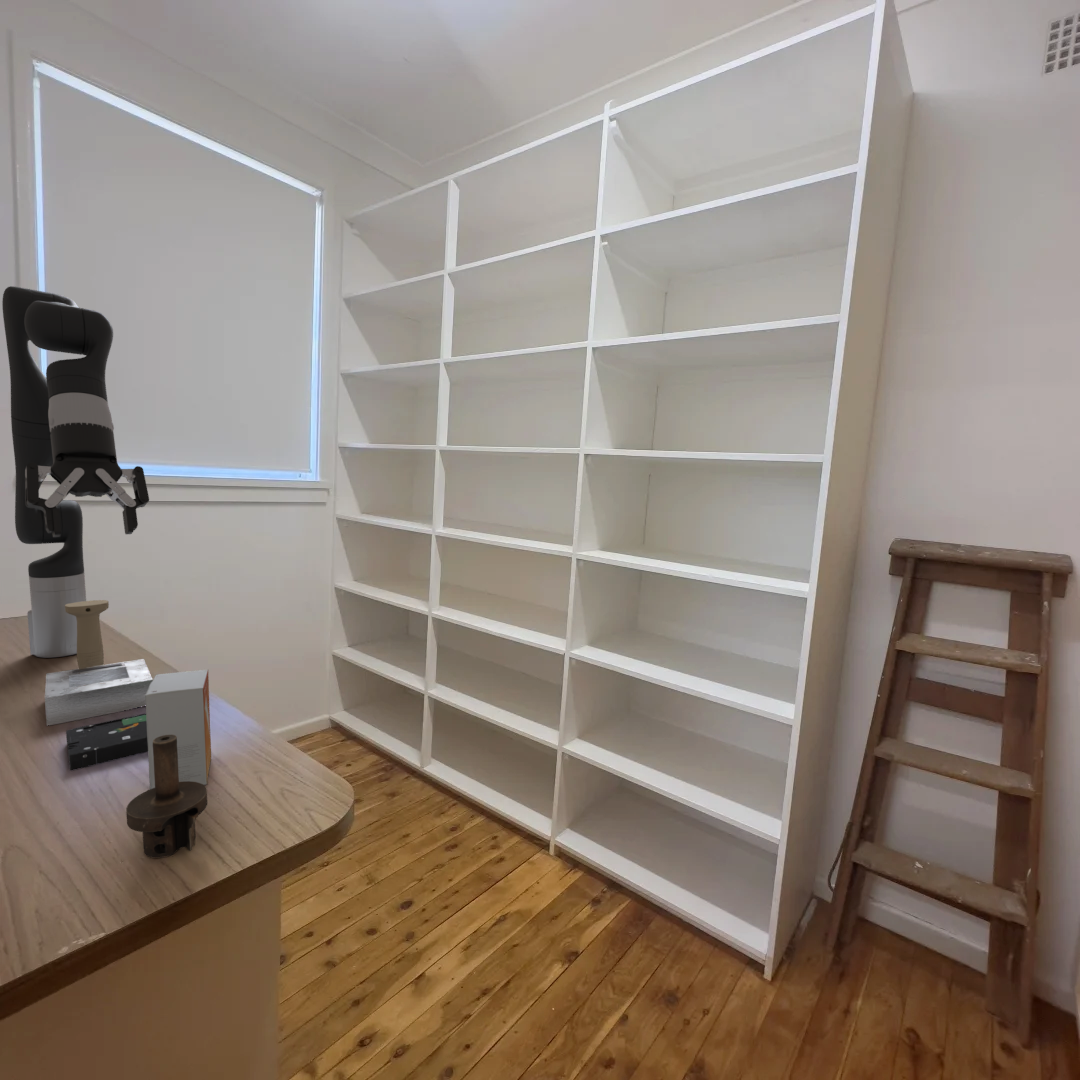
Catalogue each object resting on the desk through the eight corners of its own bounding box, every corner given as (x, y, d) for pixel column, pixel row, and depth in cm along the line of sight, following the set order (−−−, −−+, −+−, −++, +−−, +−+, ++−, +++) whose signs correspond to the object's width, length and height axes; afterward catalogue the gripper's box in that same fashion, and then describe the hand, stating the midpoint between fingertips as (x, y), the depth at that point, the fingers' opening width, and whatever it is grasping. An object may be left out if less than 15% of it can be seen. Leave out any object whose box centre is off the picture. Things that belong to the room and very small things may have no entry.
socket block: (46, 726, 90) (44, 697, 89) (48, 698, 100) (46, 672, 100) (154, 704, 98) (152, 678, 98) (144, 681, 109) (143, 657, 109)
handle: (114, 680, 109) (109, 603, 108) (70, 688, 105) (65, 607, 104) (112, 673, 113) (107, 599, 111) (70, 680, 109) (64, 603, 107)
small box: (208, 785, 74) (203, 687, 72) (148, 796, 71) (143, 694, 69) (212, 757, 81) (209, 667, 79) (159, 766, 78) (154, 673, 77)
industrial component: (221, 844, 62) (216, 738, 61) (143, 879, 57) (136, 763, 55) (187, 811, 68) (182, 713, 67) (114, 840, 62) (107, 734, 61)
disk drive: (70, 776, 76) (197, 742, 86) (68, 756, 76) (196, 724, 86) (66, 748, 84) (183, 720, 94) (64, 729, 84) (182, 703, 94)
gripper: (133, 442, 94) (145, 538, 92) (16, 435, 84) (27, 543, 82) (144, 425, 89) (157, 526, 87) (21, 415, 79) (33, 530, 76)
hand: (94, 534), depth 84 cm, fingers open, 8 cm apart
